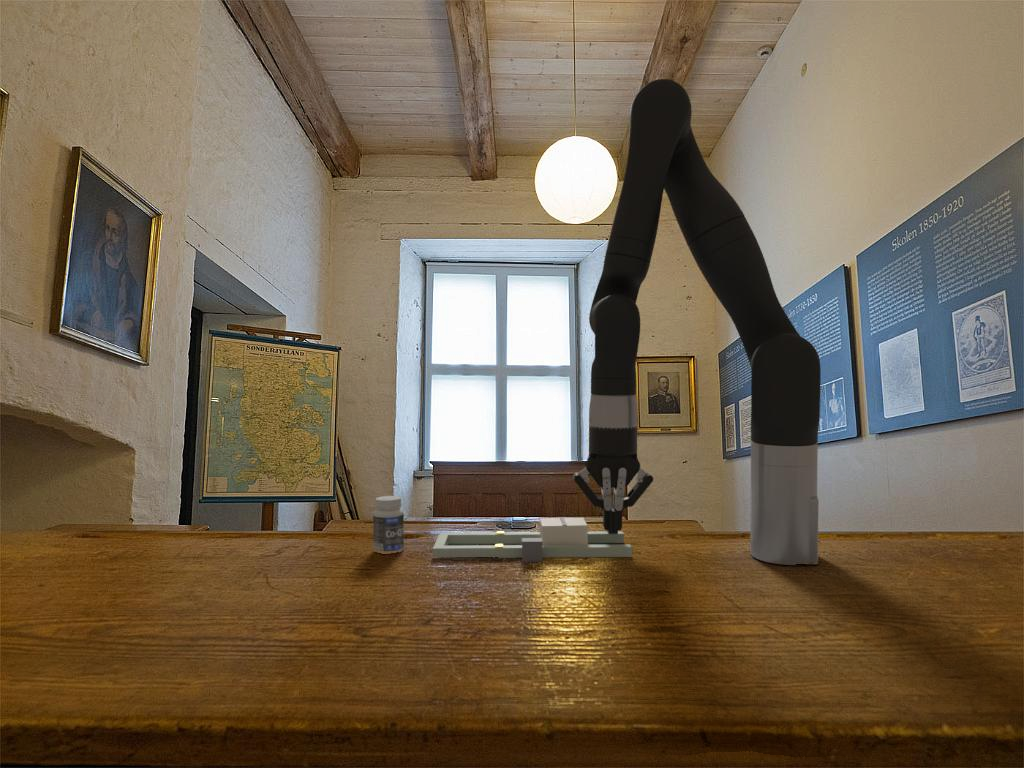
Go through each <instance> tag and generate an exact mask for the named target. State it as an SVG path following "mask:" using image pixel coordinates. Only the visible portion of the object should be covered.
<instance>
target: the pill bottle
mask: <svg viewBox="0 0 1024 768" xmlns="http://www.w3.org/2000/svg"><path fill="white" fill-rule="evenodd" d="M374 503H375V504H374V505H375V510H374V511H373V512H372V513H373V515H372V521H373V526H372V527H373V528H372V531H373V534H372V535H373V536H372V537H373V550H374V549H375V550H378V551H385V552H386V551H399V550H402V549H405V536H404V534H405V529H404V528H405V527H404V524H405V522H404V519H405V517H404V516H405V514H404V510H403V509H402V497H401V496H398V495H383V496H378V497H376V498H375V502H374Z"/></svg>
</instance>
